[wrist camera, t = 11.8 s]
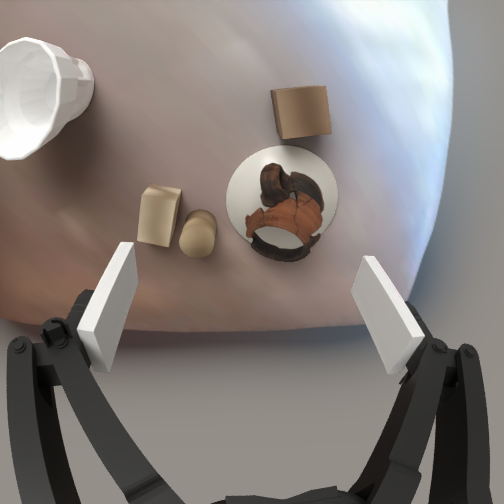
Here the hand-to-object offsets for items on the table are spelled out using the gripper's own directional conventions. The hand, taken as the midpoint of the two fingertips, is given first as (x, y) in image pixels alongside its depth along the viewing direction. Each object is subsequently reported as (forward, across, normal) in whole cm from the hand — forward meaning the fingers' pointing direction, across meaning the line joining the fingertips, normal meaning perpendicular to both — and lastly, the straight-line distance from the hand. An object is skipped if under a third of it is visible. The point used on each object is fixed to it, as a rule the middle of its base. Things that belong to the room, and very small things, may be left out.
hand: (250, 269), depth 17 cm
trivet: (+21, +6, -4) cm, 22 cm away
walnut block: (+21, +6, +8) cm, 23 cm away
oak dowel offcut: (+21, -4, -8) cm, 23 cm away
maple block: (+21, -9, -6) cm, 24 cm away
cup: (+22, -22, +10) cm, 33 cm away
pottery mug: (+20, +5, -4) cm, 22 cm away
